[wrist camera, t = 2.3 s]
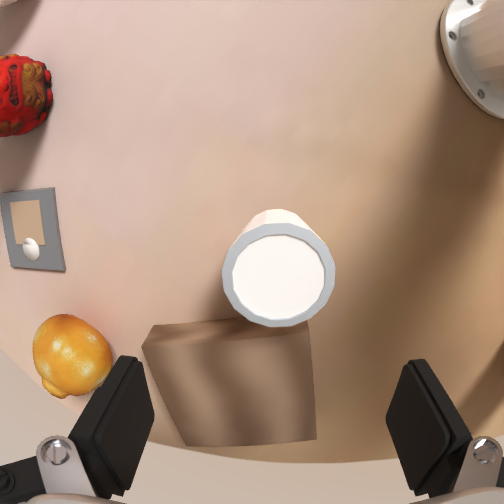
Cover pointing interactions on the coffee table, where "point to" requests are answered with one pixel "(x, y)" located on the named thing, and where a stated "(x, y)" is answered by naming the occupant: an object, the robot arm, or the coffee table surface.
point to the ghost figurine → (6, 2)
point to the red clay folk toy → (23, 94)
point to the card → (32, 229)
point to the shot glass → (278, 270)
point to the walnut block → (235, 381)
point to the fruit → (70, 356)
